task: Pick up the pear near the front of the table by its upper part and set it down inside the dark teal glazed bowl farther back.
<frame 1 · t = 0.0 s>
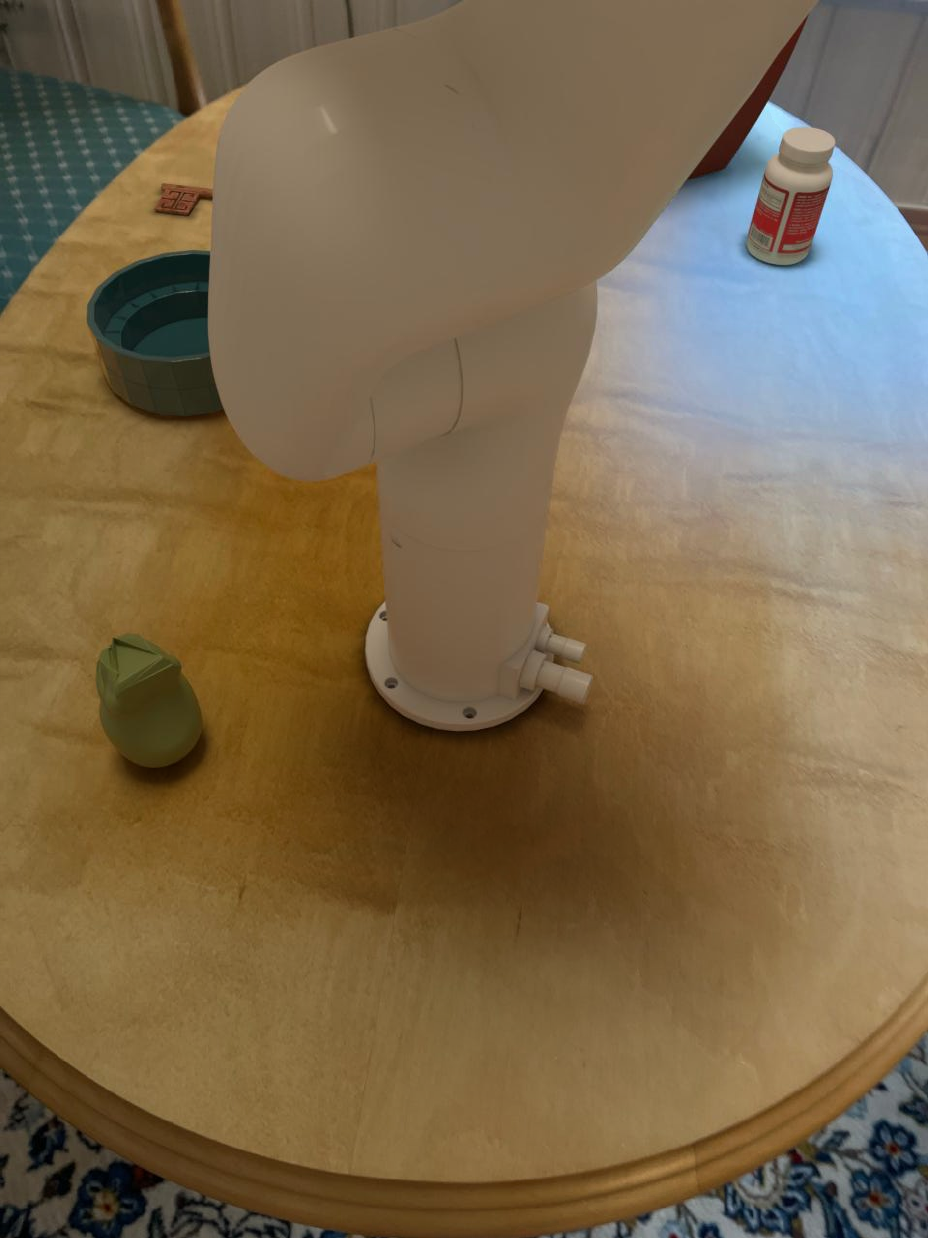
key: (229, 205, 99), on the table
pear: (166, 746, 61), on the table
bowl: (197, 362, 84), on the table
flower pot: (646, 159, 107), on the table
pill bottle: (775, 251, 97), on the table
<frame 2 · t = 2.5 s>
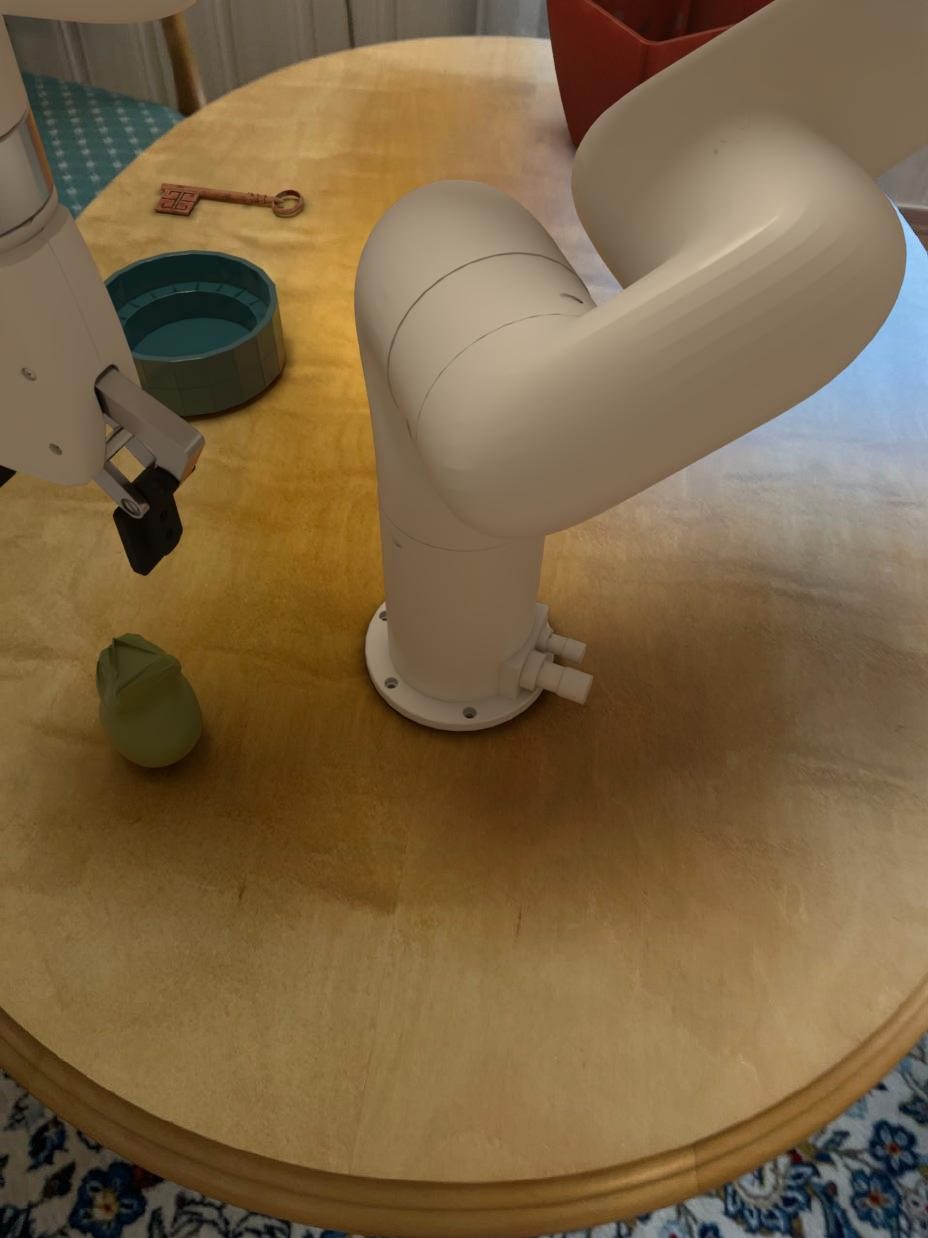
hand: (73, 520, 46), 19 cm above the table, tool pointing down, fingers open, 9 cm apart
nothing on the table moved.
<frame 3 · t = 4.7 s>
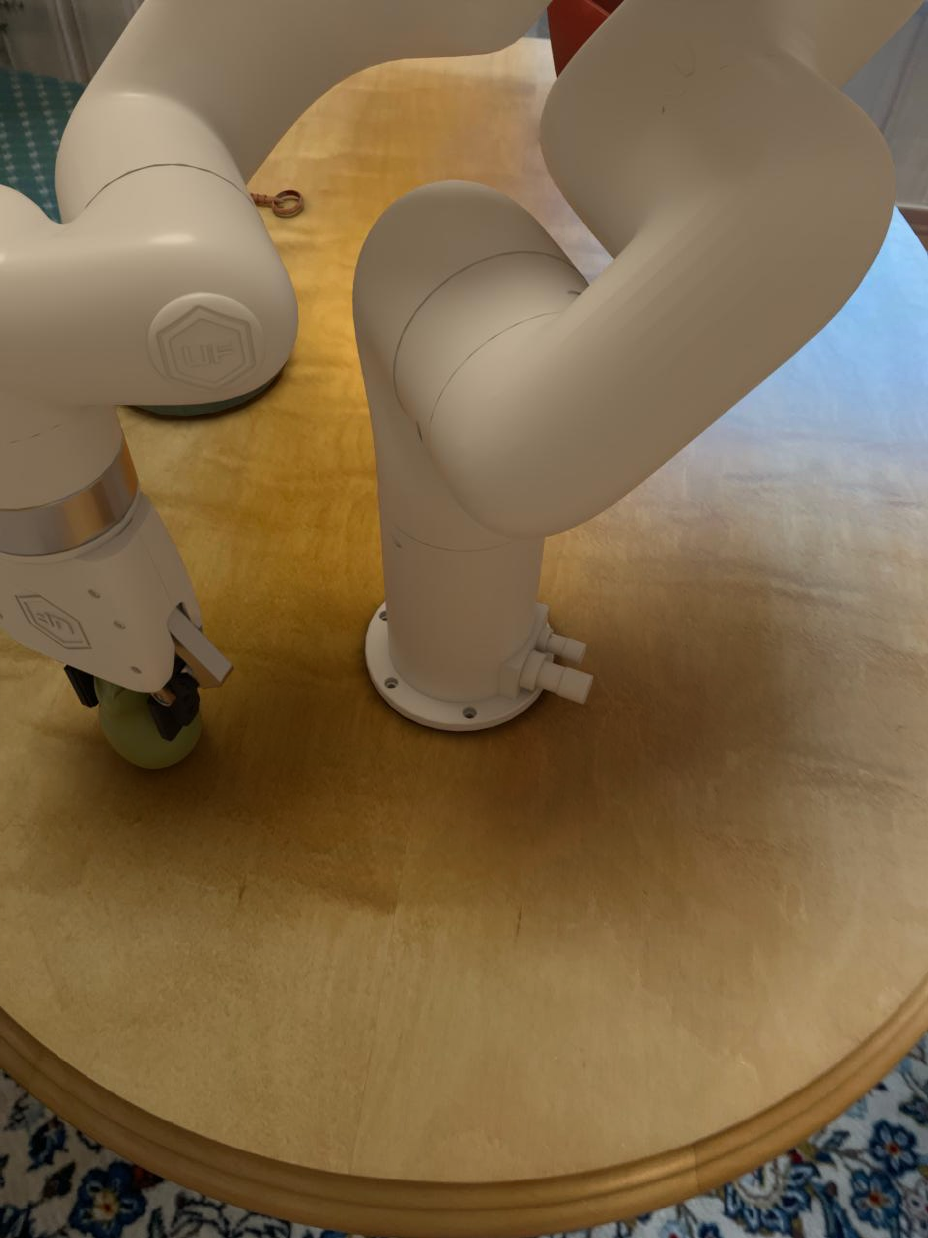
hand: (141, 702, 57), 5 cm above the table, tool pointing down, fingers closed on pear, 4 cm apart
pear: (166, 746, 61), on the table, touching gripper
everything else where it was.
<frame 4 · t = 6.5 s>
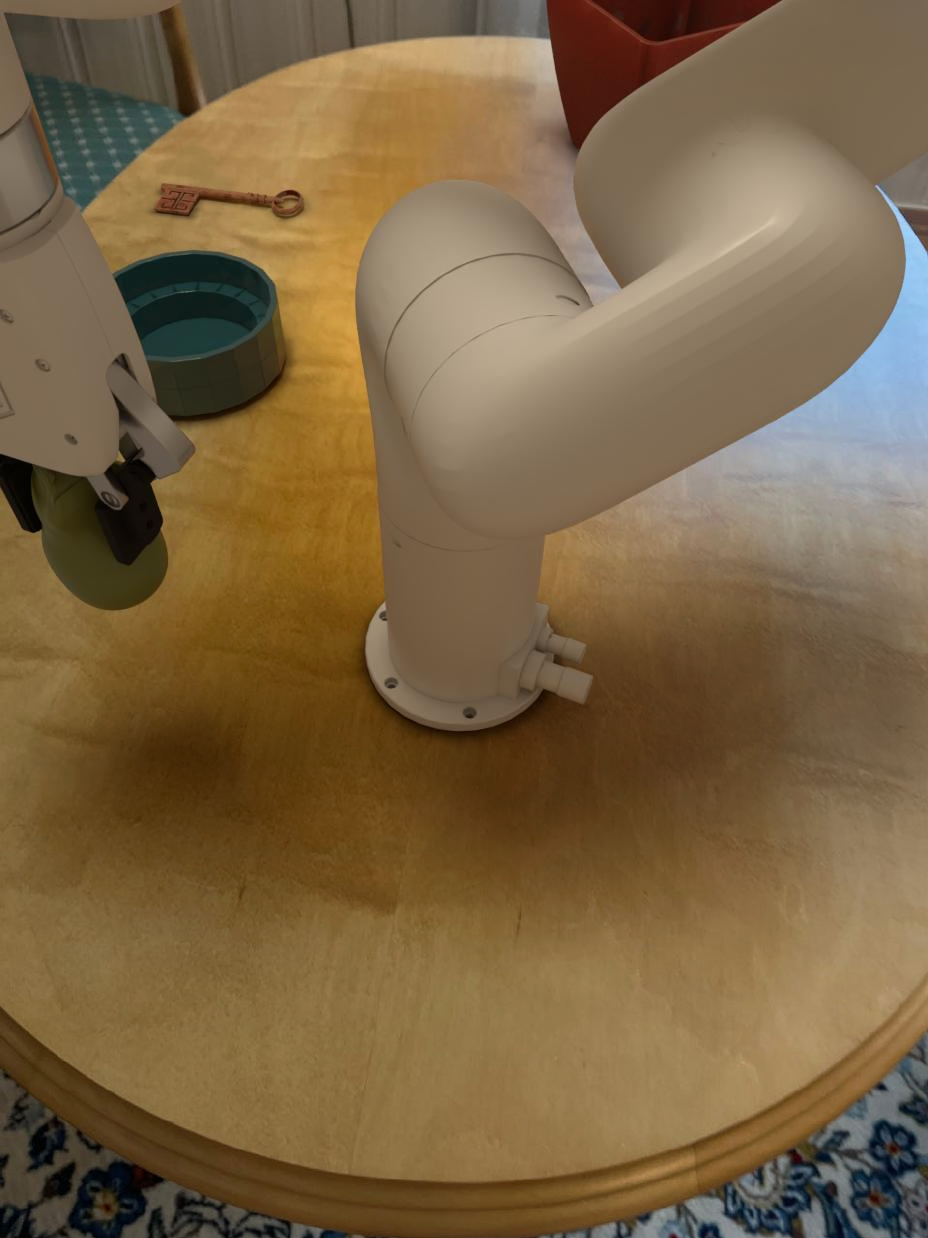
hand: (93, 525, 48), 18 cm above the table, tool pointing down, fingers closed on pear, 4 cm apart
pear: (129, 591, 52), point 13 cm above the table, touching gripper
everything else where it was.
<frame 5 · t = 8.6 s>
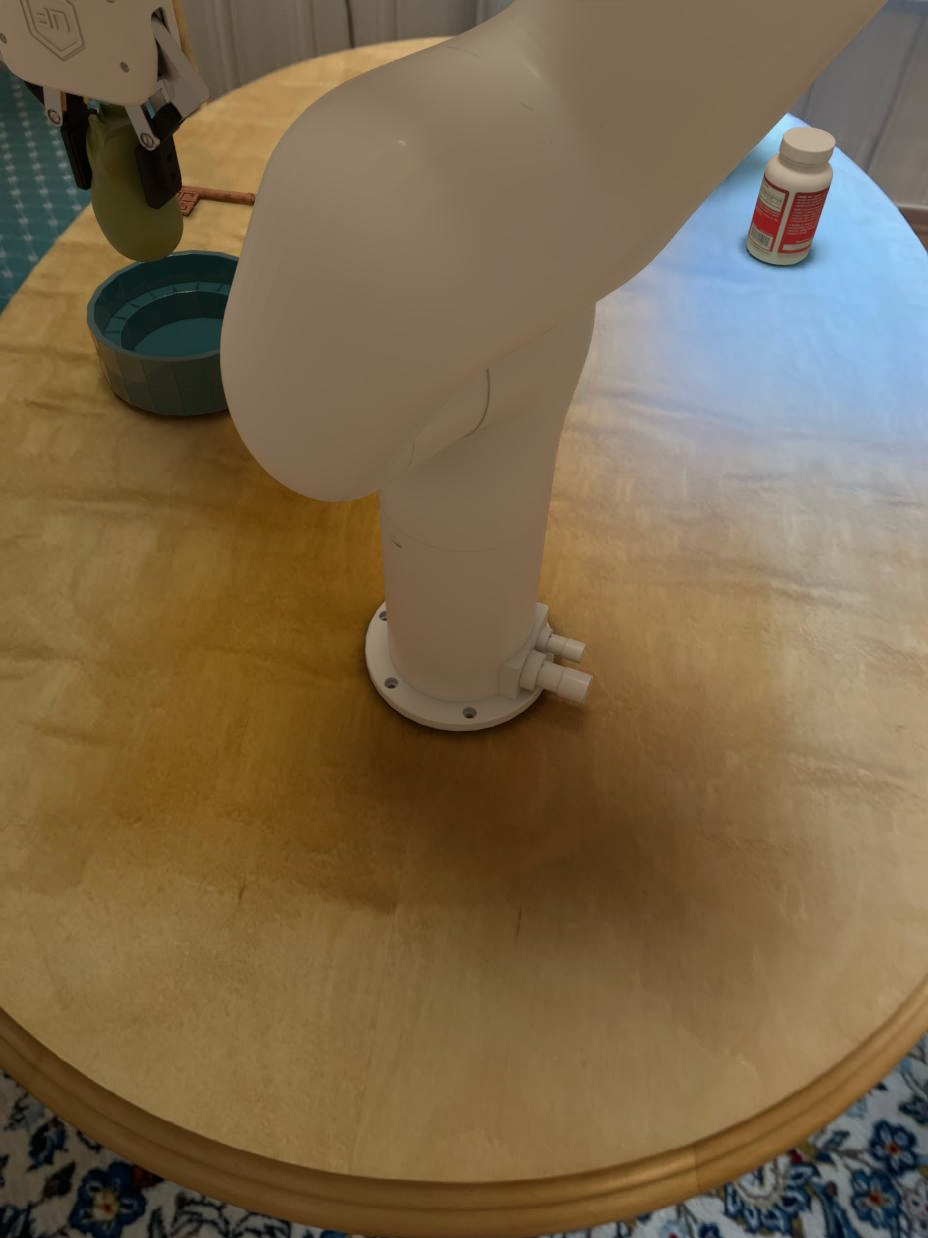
hand: (130, 186, 64), 20 cm above the table, tool pointing down, fingers closed on pear, 4 cm apart
pear: (152, 256, 68), point 15 cm above the table, touching gripper
everything else where it was.
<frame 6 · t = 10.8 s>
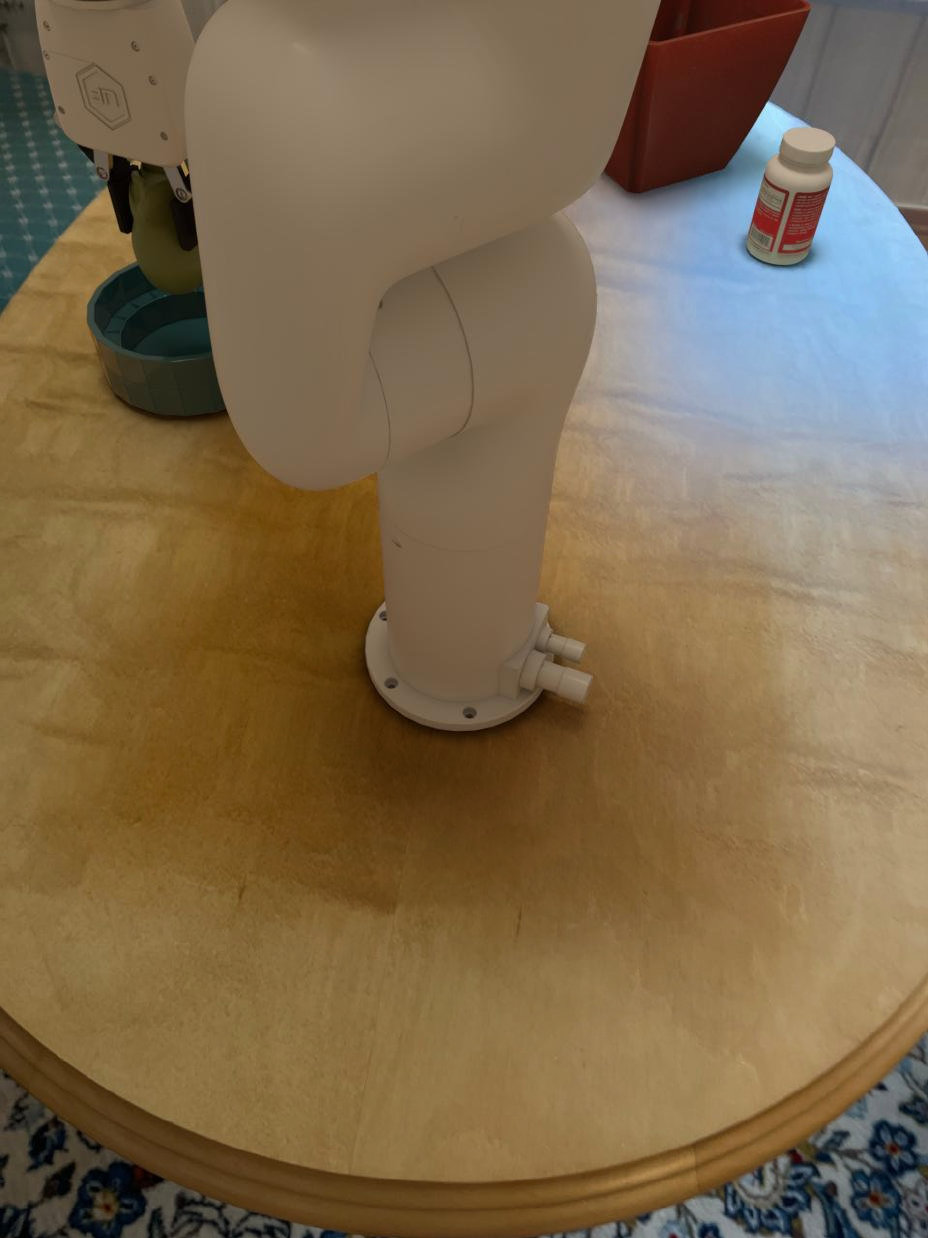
hand: (165, 230, 74), 12 cm above the table, tool pointing down, fingers closed on pear, 4 cm apart
pear: (183, 289, 78), point 7 cm above the table, touching gripper
everything else where it was.
when the fingers open (6 cm above the table, at t = 12.8 s): pear stays where it is, resting on bowl.
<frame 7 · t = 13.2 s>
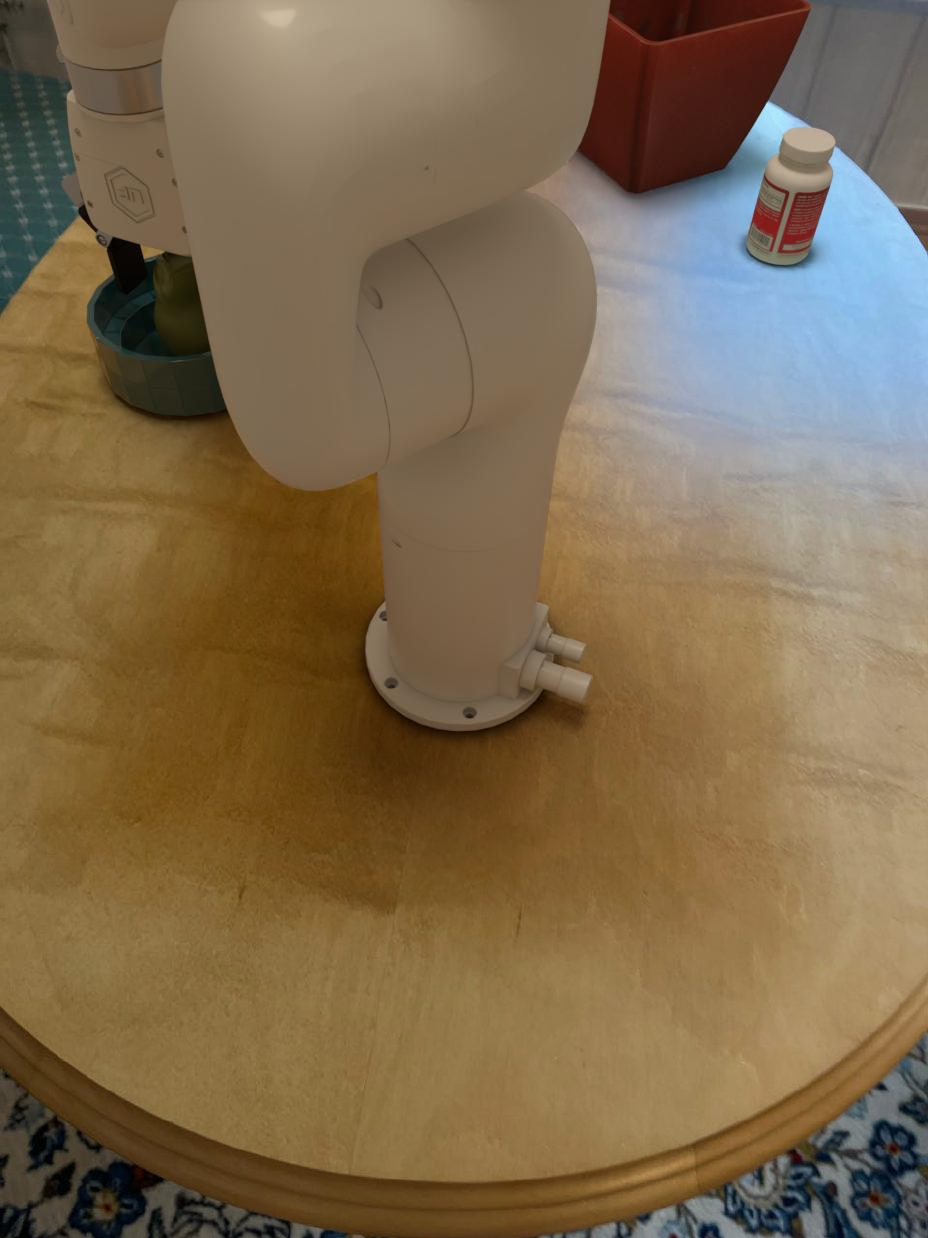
hand: (182, 298, 79), 6 cm above the table, tool pointing down, fingers open, 8 cm apart
pear: (200, 359, 84), resting on bowl
everything else where it was.
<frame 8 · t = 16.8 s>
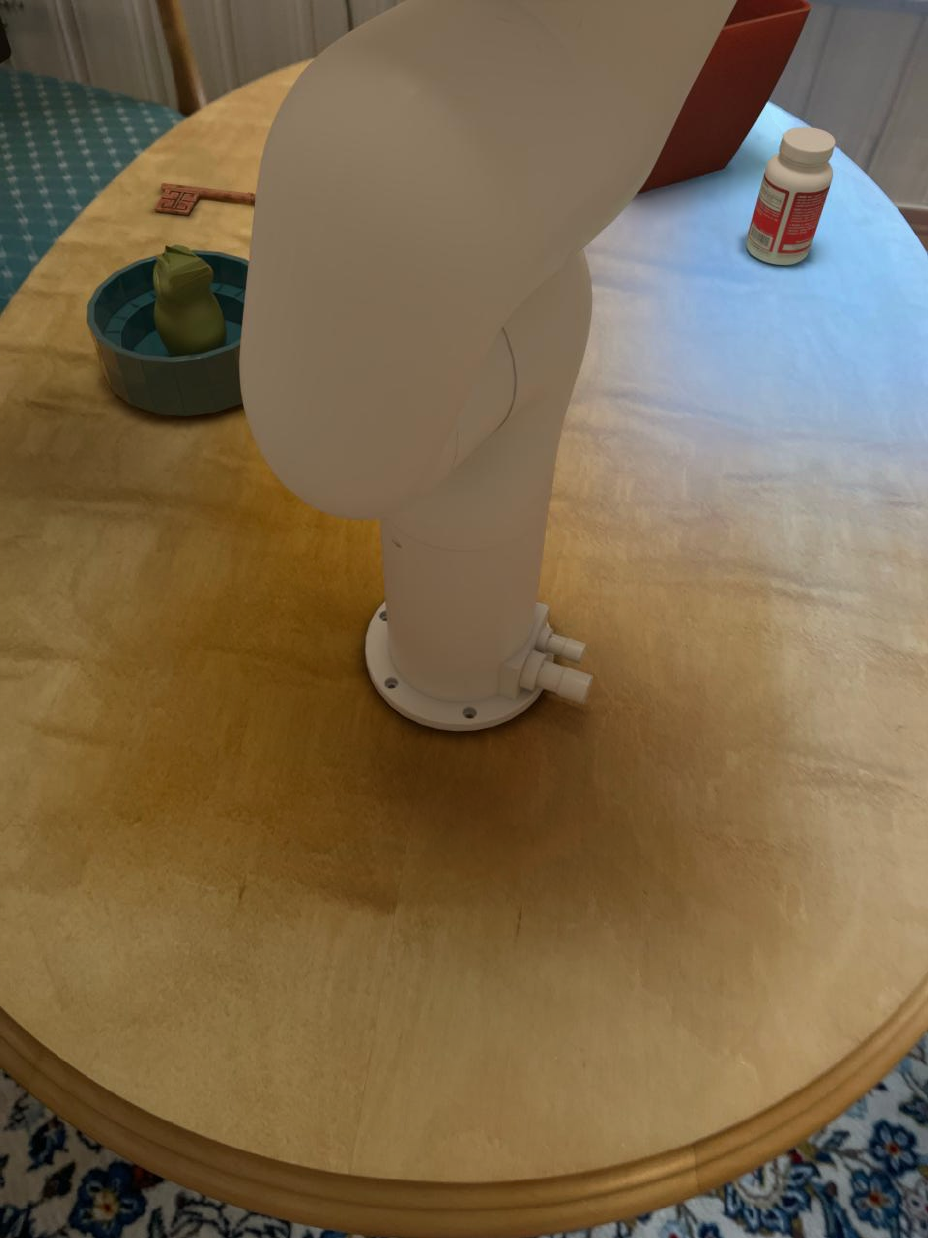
nothing on the table moved.
at the end: pear inside the target area in the bowl (0.3 cm from its centre), point 0.4 cm above the bowl's base; the gripper is holding nothing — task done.
